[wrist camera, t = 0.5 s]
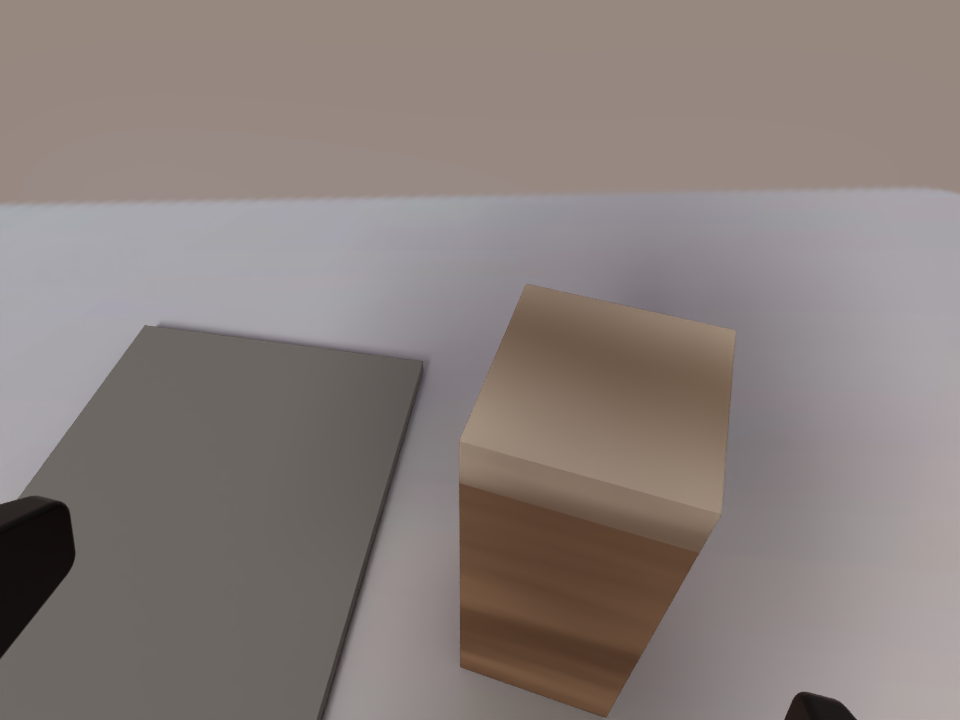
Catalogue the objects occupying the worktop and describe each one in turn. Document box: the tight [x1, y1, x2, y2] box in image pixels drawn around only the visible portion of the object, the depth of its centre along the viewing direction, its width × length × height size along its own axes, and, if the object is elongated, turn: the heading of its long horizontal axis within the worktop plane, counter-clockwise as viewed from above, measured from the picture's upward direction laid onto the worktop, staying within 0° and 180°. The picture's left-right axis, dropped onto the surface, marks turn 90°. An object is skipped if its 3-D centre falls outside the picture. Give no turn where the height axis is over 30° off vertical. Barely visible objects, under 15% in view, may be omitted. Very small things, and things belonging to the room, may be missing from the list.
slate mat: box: [0, 325, 423, 720], centre depth 24 cm, size 24×14×1 cm, turn 171°
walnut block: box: [459, 284, 736, 718], centre depth 19 cm, size 5×5×13 cm
